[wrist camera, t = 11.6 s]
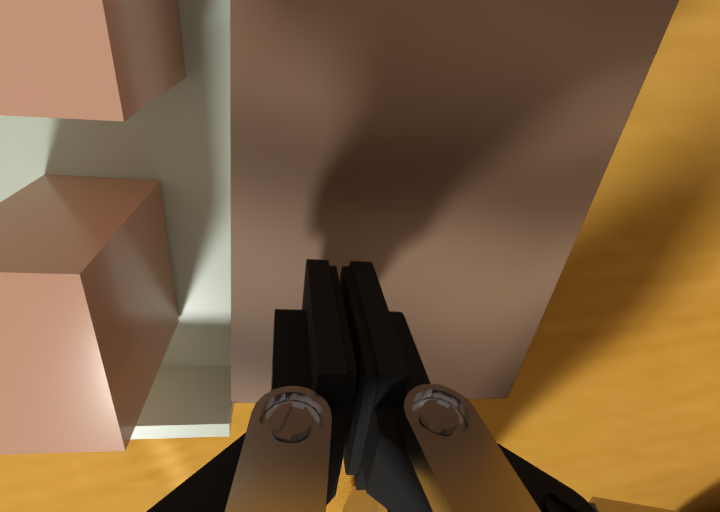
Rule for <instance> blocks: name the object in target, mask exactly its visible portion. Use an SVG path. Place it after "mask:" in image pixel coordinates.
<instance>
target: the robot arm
mask: <svg viewBox="0 0 720 512" xmlns="http://www.w3.org/2000/svg"><path fill="white" fill-rule="evenodd" d="M343 458H344V466H345V472H346V474H347V475H354V478H355V485H356V491H357V490H366V493H367V494H369V495H370V496H371V497H372V498H374V499H375V500H376V501H377V502H378V511H379V512H679V511H673V510H667V509H661V508H655V507H650V506H644V505H638V504H632V503H626V502H621V501H615V500H609V499H603V498H597V497H592V498H591V500H590V501H589V502H587V501H586V500H585V499H584V498H583V497H582V496H580V495H579V494H578V493H576V492H575V491H574V490H572V489H571V488H569V487H568V486H566V485H564V484H563V483H561V482H560V481H558V480H556V479H555V478H553V477H551V476H550V475H548V474H547V473H545V472H543V471H542V470H540V469H538V468H537V467H535V466H534V465H532V464H530V463H529V462H527V461H525V460H524V459H522V458H521V457H519V456H517V455H516V454H514V453H512V452H511V451H509V450H508V449H506V448H504V447H503V446H501V445H500V444H498V443H496V441H495V440H494V438H493V437H492V435H491V434H490V432H489V430H488V429H487V427H486V426H485V424H484V423H483V421H482V420H481V418H480V417H479V415H478V414H477V412H476V410H475V409H474V407H473V406H472V405H471V404H470V402H469V401H468V400H467V399H466V398H465V397H464V396H462V395H461V394H460V393H458V392H457V391H455V390H453V389H451V388H449V387H447V386H442V385H438V384H431V383H430V381H429V378H428V376H427V373H426V370H425V368H424V365H423V363H422V360H421V358H420V355H419V352H418V350H417V347H416V345H415V342H414V340H413V337H412V334H411V332H410V329H409V327H408V324H407V321H406V319H405V316H404V315H403V313H402V312H397V311H389V309H388V306H387V303H386V301H385V298H384V295H383V292H382V289H381V286H380V283H379V280H378V277H377V274H376V271H375V269H374V266H373V263H372V262H365V261H350V263H349V266H342V268H341V274H340V281H339V276H338V271H337V267H336V266H329V261H328V260H318V259H307V260H306V267H305V279H304V290H303V302H302V310H295V309H275V313H274V332H273V354H272V380H271V391H270V392H268V393H266V394H264V395H263V396H262V397H261V398H260V399H259V400H258V401H257V402H256V404H255V406H254V409H253V411H252V413H251V417H250V421H249V424H248V428H247V432H246V433H245V434H243V435H242V436H241V437H240V438H238V439H237V440H236V441H235V442H233V443H232V444H231V445H230V446H228V447H227V448H226V449H225V450H223V451H222V452H221V453H220V454H218V455H217V456H216V457H215V458H213V459H212V460H211V461H210V462H208V463H207V464H206V465H204V466H203V467H202V468H201V469H199V470H198V471H197V472H196V473H194V474H193V475H192V476H191V477H189V478H188V479H187V480H186V481H184V482H183V483H182V484H181V485H179V486H178V487H177V488H176V489H174V490H173V491H172V492H171V493H169V494H168V495H167V496H166V497H164V498H163V499H162V500H161V501H159V502H158V503H157V504H155V505H154V506H153V507H152V508H150V509H149V510H148V511H147V512H326V506H327V504H328V503H329V502H330V501H331V500H332V499H333V497H334V496H335V495H336V490H337V485H338V479H339V475H340V471H341V465H342V460H343Z"/></svg>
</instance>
